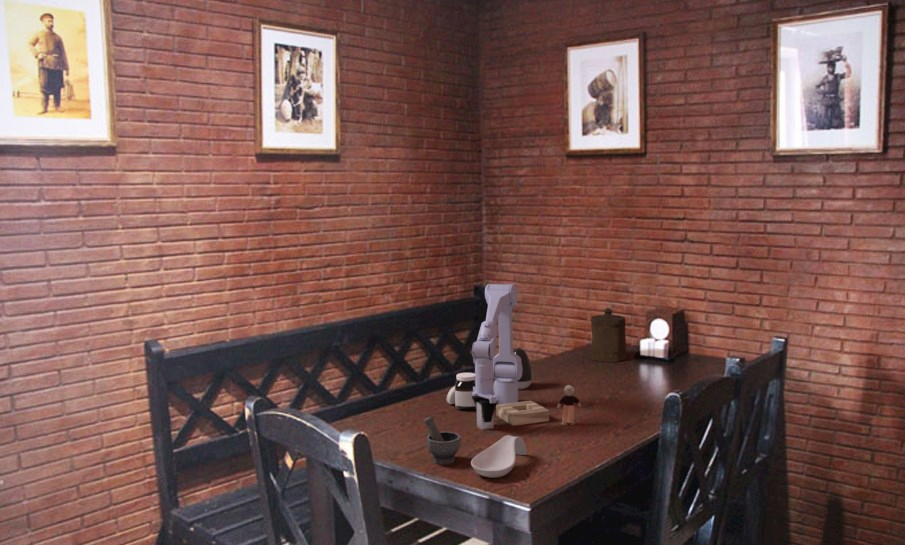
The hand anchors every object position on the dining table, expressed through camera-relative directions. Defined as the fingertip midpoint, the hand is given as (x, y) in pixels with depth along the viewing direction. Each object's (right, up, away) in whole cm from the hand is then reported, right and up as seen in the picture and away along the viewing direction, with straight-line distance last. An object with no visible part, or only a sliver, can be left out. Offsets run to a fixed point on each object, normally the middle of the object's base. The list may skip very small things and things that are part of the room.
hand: (485, 419), depth 257 cm
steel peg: (0, -2, 0) cm, 2 cm away
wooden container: (+57, +9, +94) cm, 110 cm away
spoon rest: (+3, -7, -35) cm, 36 cm away
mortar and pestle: (-13, -6, -29) cm, 33 cm away
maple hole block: (+13, -1, +9) cm, 16 cm away
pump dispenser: (+15, +3, +48) cm, 51 cm away
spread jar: (-7, 0, +24) cm, 25 cm away
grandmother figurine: (+27, -2, +2) cm, 27 cm away
